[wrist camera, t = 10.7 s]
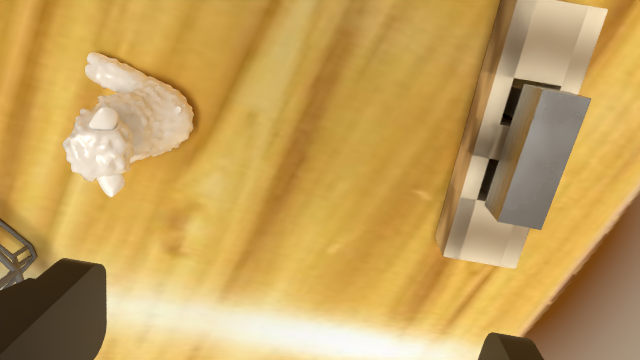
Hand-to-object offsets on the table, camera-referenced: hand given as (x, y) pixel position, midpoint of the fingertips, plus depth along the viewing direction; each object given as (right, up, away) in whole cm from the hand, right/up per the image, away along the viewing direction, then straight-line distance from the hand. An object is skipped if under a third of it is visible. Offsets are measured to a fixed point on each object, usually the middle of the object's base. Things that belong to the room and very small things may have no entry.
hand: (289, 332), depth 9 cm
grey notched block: (+15, +7, +27) cm, 31 cm away
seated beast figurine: (-14, +9, +28) cm, 32 cm away
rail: (+15, +7, +27) cm, 31 cm away
